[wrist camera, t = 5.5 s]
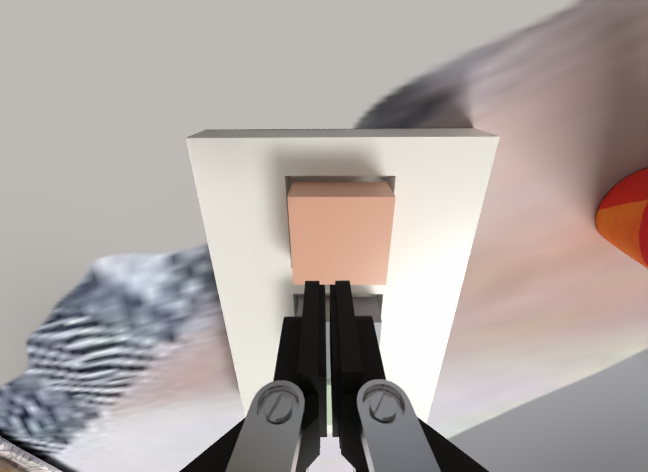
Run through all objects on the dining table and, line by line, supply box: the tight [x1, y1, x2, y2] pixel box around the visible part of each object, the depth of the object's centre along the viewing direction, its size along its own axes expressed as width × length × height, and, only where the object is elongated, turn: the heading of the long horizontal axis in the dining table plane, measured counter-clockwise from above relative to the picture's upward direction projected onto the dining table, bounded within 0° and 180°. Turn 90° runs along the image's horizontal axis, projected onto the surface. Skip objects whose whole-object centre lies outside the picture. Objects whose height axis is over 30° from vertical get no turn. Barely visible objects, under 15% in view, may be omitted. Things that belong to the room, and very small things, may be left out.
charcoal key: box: [297, 297, 382, 379], centre depth 20 cm, size 5×5×2 cm
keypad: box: [185, 128, 500, 433], centre depth 22 cm, size 16×26×3 cm, turn 0°
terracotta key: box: [287, 182, 396, 285], centre depth 17 cm, size 5×5×2 cm
